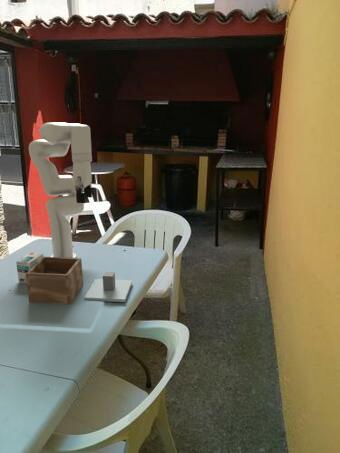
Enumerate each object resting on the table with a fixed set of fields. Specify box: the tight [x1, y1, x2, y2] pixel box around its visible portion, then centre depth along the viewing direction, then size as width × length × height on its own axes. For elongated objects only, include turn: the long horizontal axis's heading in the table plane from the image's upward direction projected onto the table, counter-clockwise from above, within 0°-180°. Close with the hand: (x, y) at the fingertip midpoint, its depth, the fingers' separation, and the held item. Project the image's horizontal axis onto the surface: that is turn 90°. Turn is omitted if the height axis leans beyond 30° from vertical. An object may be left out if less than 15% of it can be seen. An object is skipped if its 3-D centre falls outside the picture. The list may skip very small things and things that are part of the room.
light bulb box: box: [15, 252, 44, 284], centre depth 151 cm, size 11×7×11 cm, turn 168°
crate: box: [26, 256, 84, 305], centre depth 139 cm, size 16×16×13 cm
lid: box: [83, 271, 133, 303], centre depth 142 cm, size 16×16×9 cm
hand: (84, 199), depth 142 cm, fingers open, 9 cm apart
